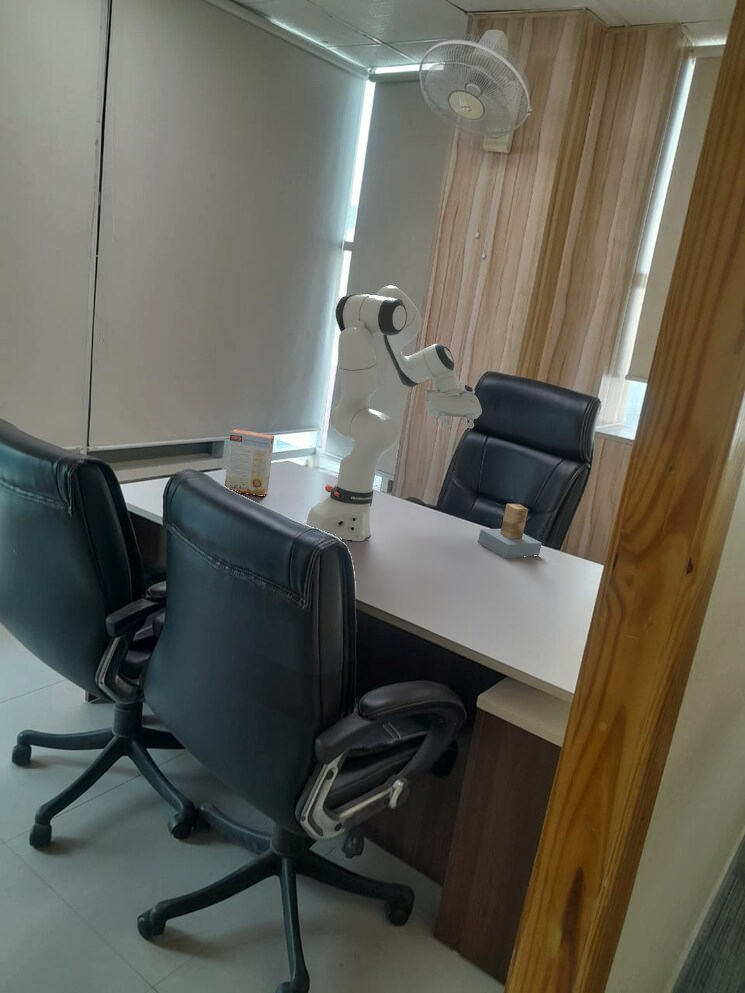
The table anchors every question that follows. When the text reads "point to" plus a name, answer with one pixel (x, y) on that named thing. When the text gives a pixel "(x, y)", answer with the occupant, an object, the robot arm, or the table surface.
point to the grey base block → (508, 544)
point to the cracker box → (249, 462)
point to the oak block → (514, 521)
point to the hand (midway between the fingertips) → (459, 426)
